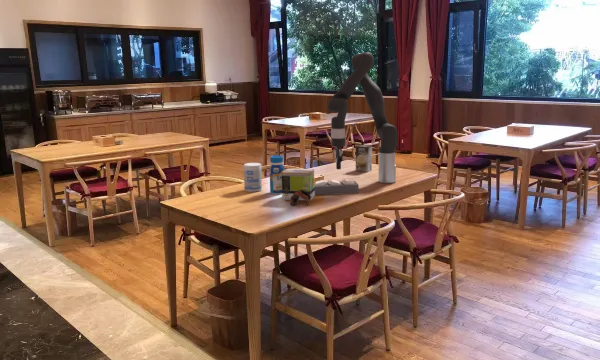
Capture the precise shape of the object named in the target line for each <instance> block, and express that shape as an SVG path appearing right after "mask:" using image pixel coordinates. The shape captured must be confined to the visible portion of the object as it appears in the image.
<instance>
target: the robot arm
mask: <svg viewBox="0 0 600 360" xmlns="http://www.w3.org/2000/svg"><path fill="white" fill-rule="evenodd" d="M374 63H375V59H374V56H373V53H371V52H369V51H367V52H360V53H356V54H354V55H353V56H352V57H351V65H352V66H351V67H352V69H353V72H352V73H351V74H350V75H349V76H348V77H346V79H345V80H344V81H343V83H342V84H341V86H340V87H339V89H338V91H336V92H335V93H334V94H333V96H331V97H330V99H329V100H328V102H327V108H328V111H330V112H333V113H337V115H336V116H333V117H332V118H331V123H330V125H331V126H330V127H331V131H330V139H331V140H330V142H331V143H330V145H331V147H334V149H333V153H334V160H335V163H336V165H335V166H336V170H341V169H342V167H341V166H342V162H343V157H344V153H343V152H344V150H343V149H342V147H344V146H346V117H347V112H348V110H349V104H348V103H349V102H348V101H347V100H350V98H351V97H352V96H353V93H354V92H355V89H356V88H358V85H359V84H360V86H361V89H362V92H363V95H364V97H365V100H366V103H367V106H368V108H369V111H370V114H371V116H372V119H373V121H374V127H375V130H376V133H377V134H376V135H377V136H378V137H379V138H380V139H381V146H379V148H378V179H377V180H378V182H379V183H381V184H393V183H396V182H397V181H396V180H397V172H396V171H397V165H396V149H397V146H398V129H397V127H396V126H395V125H393V124H390V123H389V121H388V119H387V117H386V113H385V112H386V111H385V99H384V95H383V93H382V90H381V88H380V87H379V86H378V84H376V82H374V81H373V80H372V79H371V77H370V76H369V73H368V72H369V71H370V70H371V69H372V68H373V66H374V65H375V64H374Z"/></svg>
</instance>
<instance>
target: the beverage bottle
mask: <svg viewBox="0 0 600 360" xmlns="http://www.w3.org/2000/svg"><path fill="white" fill-rule="evenodd" d="M269 161H270V163H271V164H270V166H269V174H268V175H269V193H271V194H272V195H282V174H281V172H283V171H284V170H286V169H285V165H284V164H283V162H284V156H283V155H277V154H276V155H271V156H270V157H269Z"/></svg>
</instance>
